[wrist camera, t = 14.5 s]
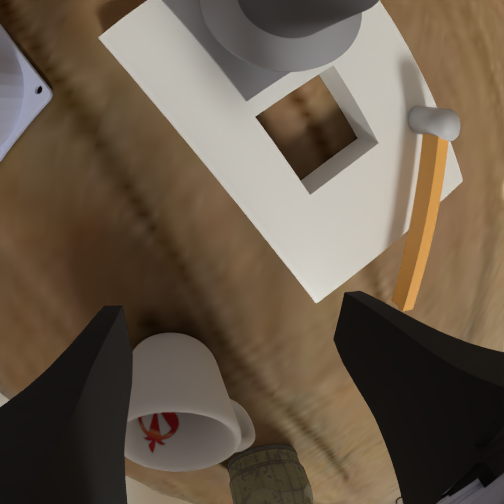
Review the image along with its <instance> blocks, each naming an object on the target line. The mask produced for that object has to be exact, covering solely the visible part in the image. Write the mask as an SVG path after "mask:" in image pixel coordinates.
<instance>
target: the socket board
mask: <svg viewBox="0 0 504 504" xmlns="http://www.w3.org/2000/svg"><path fill="white" fill-rule="evenodd" d="M98 38H99V39H100V40H101V41H102V43H103V44H104V45H105V46H106V47H107V48H108V50H109V51H110V52H111V53H112V54H113V55H114V57H115V58H116V59H117V60H118V61H119V62H120V64H121V65H122V66H123V67H124V68H125V69H126V71H127V72H128V73H129V74H130V75H131V76H132V78H133V79H134V80H135V81H136V82H137V83H138V85H139V86H140V87H141V88H142V89H143V91H144V92H145V93H146V94H147V95H148V96H149V98H150V99H151V100H152V101H153V102H154V104H155V105H156V106H157V107H158V108H159V110H160V111H161V112H162V113H163V114H164V116H165V117H166V118H167V119H168V120H169V122H170V123H171V124H172V125H173V126H174V128H175V129H176V130H177V131H178V132H179V134H180V135H181V136H182V137H183V138H184V140H185V141H186V142H187V143H188V144H189V146H190V147H191V148H192V149H193V150H194V152H195V153H196V154H197V155H198V157H199V158H200V159H201V160H202V161H203V163H204V164H205V165H206V166H207V167H208V169H209V170H210V171H211V172H212V174H213V175H214V176H215V177H216V178H217V180H218V181H219V182H220V183H221V185H222V186H223V187H224V188H225V190H226V191H227V192H228V193H229V194H230V196H231V197H232V198H233V199H234V201H235V202H236V203H237V204H238V206H239V207H240V208H241V209H242V211H243V212H244V213H245V214H246V215H247V217H248V218H249V219H250V220H251V222H252V223H253V224H254V225H255V227H256V228H257V229H258V230H259V232H260V233H261V234H262V235H263V237H264V238H265V239H266V240H267V242H268V243H269V244H270V245H271V247H272V248H273V249H274V250H275V252H276V253H277V254H278V255H279V257H280V258H281V259H282V261H283V262H284V263H285V264H286V266H287V267H288V268H289V269H290V271H291V272H292V273H293V274H294V276H295V277H296V278H297V279H298V281H299V282H300V283H301V285H302V286H303V287H304V288H305V290H306V291H307V292H308V293H309V295H310V296H311V297H312V299H313V300H314V301H315V302H316V303H318V302H319V301H320V300H322V299H323V298H324V297H326V296H327V295H328V294H330V293H331V292H332V291H334V290H335V289H336V288H338V287H339V286H340V285H341V284H343V283H344V282H345V281H347V280H348V279H349V278H350V277H352V276H353V275H354V274H356V273H357V272H358V271H359V270H361V269H362V268H363V267H364V266H366V265H367V264H368V263H369V262H371V261H372V260H373V259H374V258H376V257H377V256H378V255H379V254H380V253H382V252H383V251H384V250H385V249H386V248H388V247H389V246H390V245H391V244H393V243H394V242H395V241H396V240H397V239H398V238H400V237H401V236H402V235H403V234H404V233H406V232H407V231H408V230H409V226H410V220H411V215H412V209H413V204H414V198H415V191H416V185H417V178H418V171H419V163H420V155H421V146H422V136H423V135H421V134H417V133H415V132H413V131H412V129H411V128H410V125H409V120H408V117H409V113H410V111H411V109H412V108H413V107H415V106H426V107H435V108H437V106H436V104H435V102H434V99H433V97H432V95H431V93H430V90H429V88H428V86H427V84H426V82H425V80H424V78H423V75H422V73H421V71H420V69H419V67H418V65H417V63H416V61H415V60H414V58H413V56H412V54H411V52H410V50H409V48H408V46H407V45H406V43H405V41H404V39H403V38H402V36H401V34H400V32H399V31H398V29H397V27H396V26H395V24H394V22H393V21H392V19H391V17H390V16H389V14H388V13H387V11H386V10H385V8H384V6H383V5H382V3H381V2H380V0H379V1H378V3H377V4H375V5H374V6H373V7H372V8H370V9H368V10H366V11H364V12H362V20H361V26H360V29H359V32H358V35H357V37H356V39H355V41H354V42H353V44H352V45H351V46H350V48H349V49H348V50H347V51H346V52H345V53H344V54H343V55H342V56H340V57H339V58H337V59H336V60H334V61H332V62H330V63H329V64H327V65H324V66H321V67H318V68H314V69H310V70H306V71H300V72H278V71H271V70H267V69H263V68H259V67H256V66H254V65H251V64H249V63H247V62H245V61H243V60H241V59H239V58H237V57H236V56H234V55H233V54H231V53H230V52H229V51H227V50H226V49H225V48H224V47H222V45H221V44H220V43H219V42H218V41H217V40H216V39H215V38H214V37H213V35H212V34H211V33H210V31H209V30H208V28H207V26H206V24H205V22H204V20H203V17H202V14H201V10H200V5H199V0H147V1H146V2H144V3H143V4H141V5H140V6H138V7H137V8H136V9H134V10H133V11H131V12H130V13H129V14H127V15H126V16H125V17H123V18H122V19H121V20H119V21H118V22H117V23H116V24H114V25H113V26H112V27H110V28H109V29H108V30H107V31H106V32H104V33H103V34H102V35H101V36H99V37H98ZM318 74H319V76H320V77H321V79H322V80H323V82H324V84H325V85H326V87H327V88H328V90H329V91H330V93H331V94H332V96H333V98H334V99H335V101H336V102H337V104H338V106H339V107H340V109H341V111H342V112H343V114H344V116H345V117H346V119H347V121H348V122H349V124H350V126H351V128H352V129H353V131H354V133H355V135H356V136H357V139H356V140H355V141H353V142H352V143H351V144H349V145H348V146H346V147H345V148H344V149H342V150H341V151H340V152H338V153H337V154H336V155H334V156H333V157H332V158H330V159H329V160H327V161H326V162H325V163H323V164H322V165H321V166H319V167H318V168H317V169H315V170H314V171H313V172H311V173H310V174H309V175H307V176H306V177H305V178H303V179H302V180H301V181H300V179H299V178H298V177H297V175H296V174H295V172H294V171H293V169H292V168H291V166H290V165H289V163H288V162H287V161H286V159H285V158H284V156H283V155H282V153H281V152H280V151H279V149H278V148H277V146H276V145H275V144H274V142H273V141H272V139H271V138H270V137H269V135H268V134H267V132H266V131H265V130H264V128H263V127H262V126H261V124H260V123H259V122H258V120H257V119H256V116H257V115H258V114H260V113H261V112H263V111H264V110H265V109H267V108H268V107H270V106H271V105H273V104H274V103H276V102H277V101H278V100H280V99H281V98H283V97H284V96H286V95H287V94H289V93H290V92H292V91H293V90H295V89H296V88H298V87H299V86H301V85H303V84H304V83H306V82H307V81H309V80H310V79H312V78H313V77H315V76H317V75H318ZM462 181H463V179H462V176H461V172H460V169H459V166H458V163H457V160H456V157H455V154H454V151H453V148H452V145H451V142H450V141H449V142H448V151H447V159H446V166H445V173H444V180H443V186H442V192H441V198H440V202H441V201H442V200H443V199H444V198H445V197H446V196H447V195H448V194H449V193H451V192H452V191H453V190H454V189H455V188H456V187H457V186H458V185H459V184H460V183H461V182H462Z"/></svg>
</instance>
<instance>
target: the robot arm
mask: <svg viewBox="0 0 504 504" xmlns="http://www.w3.org/2000/svg"><path fill="white" fill-rule="evenodd" d="M40 86H42V92H41V93H40V94H38V92H37V91H38V88H39V87H40ZM52 95H53V94H52V90H51V89H50V87H49V86H48V85H47V84H46V82H45V81H44V80H43V79H42V77H41V76H40V75H39V74H38V72H37V71H36V70H35V69H34V67H33V66H32V65H31V63H30V62H29V61H28V60H27V58H26V57H25V56H24V54H23V53H22V52H21V51H20V49H19V48H18V47H17V45H16V44H15V43H14V41H13V40H12V39H11V37H10V36H9V35H8V33H7V32H6V31H5V29H4V28H3V27H2V25H1V24H0V162H1V161H2V159H3V158H4V156H5V155H6V154H7V152H8V151H9V150H10V148H11V147H12V146H13V144H14V143H15V142H16V140H17V139H18V138H19V137H20V135H21V134H22V133H23V132H24V130H25V129H26V128H27V127H28V125H29V124H30V123H31V122H32V121H33V120H34V118H35V117H36V116H37V115H38V114H39V113H40V111H41V110H42V109H43V108H44V107H45V106H46V105H47V104H48V103H49V102H50V100H51V99H52ZM334 342H335V345H336V347H337V350H338V352H339V355H340V357H341V359H342V362H343V364H344V366H345V367H346V369H347V371H348V372H349V374H350V376H351V378H352V379H353V381H354V383H355V384H356V386H357V388H358V389H359V391H360V393H361V394H362V396H363V398H364V400H365V401H366V403H367V405H368V406H369V408H370V410H371V412H372V414H373V416H374V417H375V419H376V422H377V424H378V426H379V429H380V431H381V434H382V436H383V438H384V441H385V444H386V446H387V449H388V452H389V454H390V457H391V460H392V463H393V467H394V470H395V473H396V477H397V480H398V484H399V488H400V492H401V497H402V501H403V504H504V352H500V351H495V350H491V349H487V348H484V347H481V346H477V345H474V344H471V343H468V342H465V341H462V340H459V339H457V338H454V337H452V336H449V335H447V334H444V333H442V332H440V331H438V330H436V329H434V328H431V327H429V326H427V325H425V324H423V323H421V322H419V321H417V320H415V319H413V318H412V317H410V316H408V315H406V314H404V313H402V312H400V311H399V310H397V309H395V308H393V307H391V306H389V305H388V304H386V303H384V302H382V301H380V300H378V299H376V298H374V297H372V296H370V295H368V294H366V293H364V292H361V291H354V292H345V293H344V298H343V302H342V306H341V311H340V315H339V319H338V323H337V327H336V331H335V335H334ZM132 374H133V353H132V349H131V344H130V340H129V335H128V330H127V325H126V320H125V314H124V309H123V306H104V307H103V308H102V309H101V310H100V311H99V312H98V313H97V315H96V316H95V317H94V318H93V319H92V320H91V322H90V323H89V324H88V325H87V326H86V328H85V329H84V330H83V331H82V332H81V333H80V335H79V336H78V337H77V338H76V339H75V340H74V341H73V343H72V344H71V345H70V346H69V347H68V348H67V349H66V350H65V351H64V352H63V353H62V354H61V355H60V357H59V358H58V359H57V360H56V361H55V362H54V363H53V364H52V365H51V366H50V367H49V368H48V369H47V370H46V371H45V372H44V373H43V374H42V375H40V376H39V377H38V378H37V379H36V380H35V381H34V382H32V383H31V384H30V385H29V386H28V387H27V388H25V389H24V390H23V391H21V392H20V393H19V394H17V395H16V396H15V397H13V398H12V399H11V400H9V401H8V402H7V403H6V404H4V405H3V406H2V407H0V504H127V495H126V483H125V458H124V451H125V436H126V427H127V419H128V411H129V403H130V396H131V389H132Z"/></svg>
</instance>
